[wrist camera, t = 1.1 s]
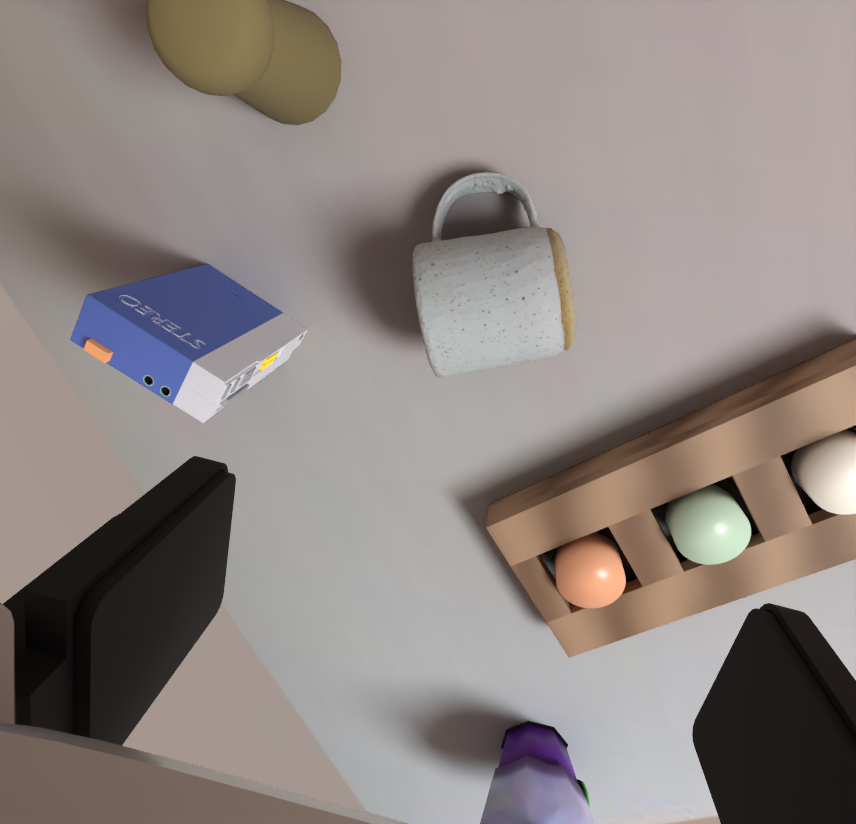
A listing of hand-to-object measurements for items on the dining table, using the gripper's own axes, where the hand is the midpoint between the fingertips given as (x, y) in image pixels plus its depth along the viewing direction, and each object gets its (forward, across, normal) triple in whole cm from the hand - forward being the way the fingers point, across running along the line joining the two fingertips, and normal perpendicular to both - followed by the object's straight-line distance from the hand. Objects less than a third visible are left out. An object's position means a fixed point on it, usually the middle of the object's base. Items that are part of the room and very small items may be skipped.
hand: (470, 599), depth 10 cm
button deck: (+29, -16, +9) cm, 34 cm away
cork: (+28, +15, -11) cm, 34 cm away
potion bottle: (+30, -12, +35) cm, 47 cm away
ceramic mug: (+29, +1, -3) cm, 29 cm away
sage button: (+27, -16, +9) cm, 33 cm away
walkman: (+29, +16, +4) cm, 33 cm away
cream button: (+27, -22, +4) cm, 35 cm away
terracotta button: (+27, -10, +15) cm, 32 cm away
